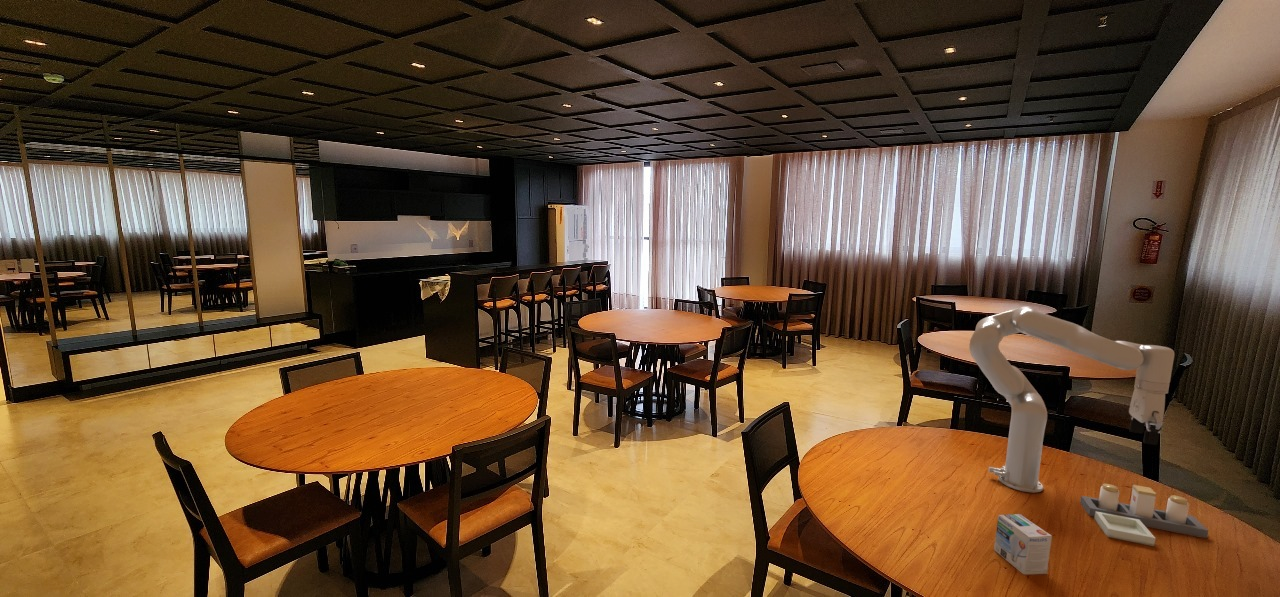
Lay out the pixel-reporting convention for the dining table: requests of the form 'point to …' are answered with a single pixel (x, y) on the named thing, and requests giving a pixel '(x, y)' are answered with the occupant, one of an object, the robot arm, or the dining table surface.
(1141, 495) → the block
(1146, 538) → the tray
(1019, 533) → the light bulb box
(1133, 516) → the holder
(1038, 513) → the dining table surface
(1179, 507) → the post
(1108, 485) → the post
